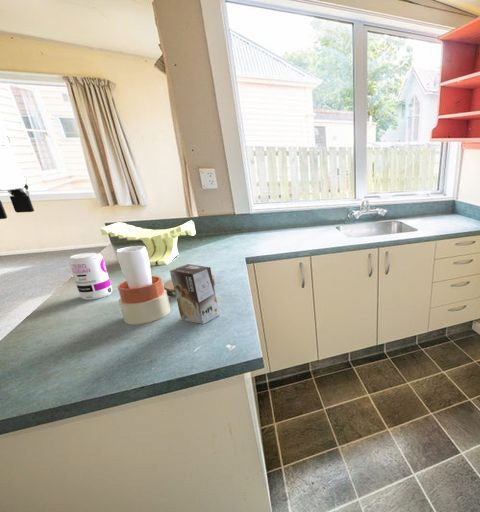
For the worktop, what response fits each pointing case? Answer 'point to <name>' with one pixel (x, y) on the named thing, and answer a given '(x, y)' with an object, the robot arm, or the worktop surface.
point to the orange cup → (141, 291)
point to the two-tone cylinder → (145, 310)
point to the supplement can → (90, 275)
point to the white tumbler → (135, 266)
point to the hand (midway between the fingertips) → (11, 215)
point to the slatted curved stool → (153, 239)
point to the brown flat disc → (170, 289)
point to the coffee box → (195, 293)
